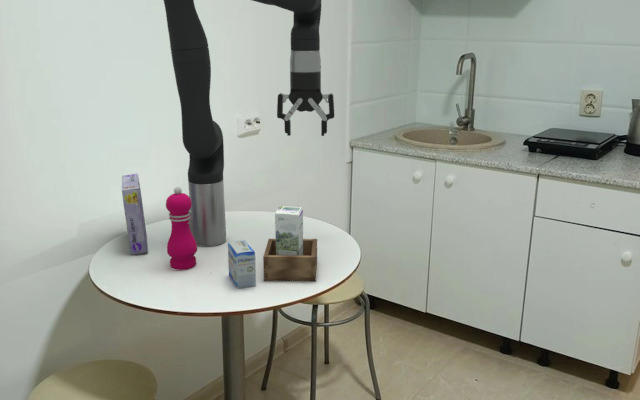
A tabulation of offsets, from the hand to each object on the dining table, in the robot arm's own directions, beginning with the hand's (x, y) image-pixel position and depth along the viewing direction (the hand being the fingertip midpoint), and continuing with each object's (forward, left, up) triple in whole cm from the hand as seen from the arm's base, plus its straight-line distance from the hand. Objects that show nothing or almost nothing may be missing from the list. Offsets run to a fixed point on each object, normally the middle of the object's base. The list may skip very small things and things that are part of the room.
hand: (306, 135), depth 148 cm
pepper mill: (-30, -13, -30) cm, 45 cm away
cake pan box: (-46, +2, -30) cm, 55 cm away
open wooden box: (-3, -16, -30) cm, 34 cm away
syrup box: (-3, -16, -29) cm, 33 cm away
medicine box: (-14, -22, -30) cm, 40 cm away
